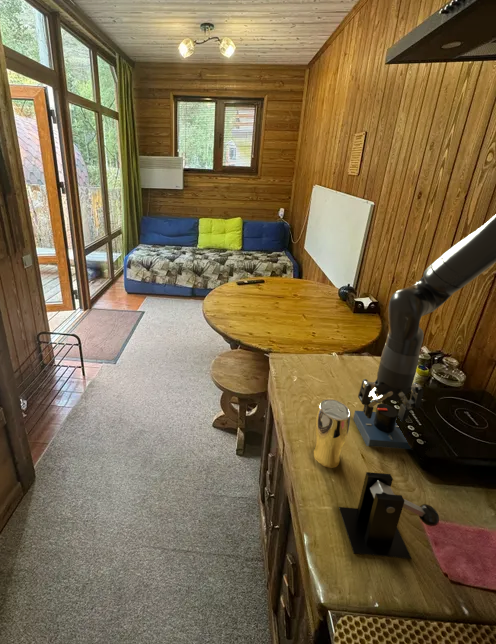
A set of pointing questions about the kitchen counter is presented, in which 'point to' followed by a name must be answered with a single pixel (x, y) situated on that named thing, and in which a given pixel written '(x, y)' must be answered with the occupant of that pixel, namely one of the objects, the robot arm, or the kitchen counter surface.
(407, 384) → the robot arm
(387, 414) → the knob
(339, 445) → the beer glass
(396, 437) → the valve panel
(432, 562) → the kitchen counter surface
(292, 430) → the kitchen counter surface
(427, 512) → the tap lever
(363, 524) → the bracket
